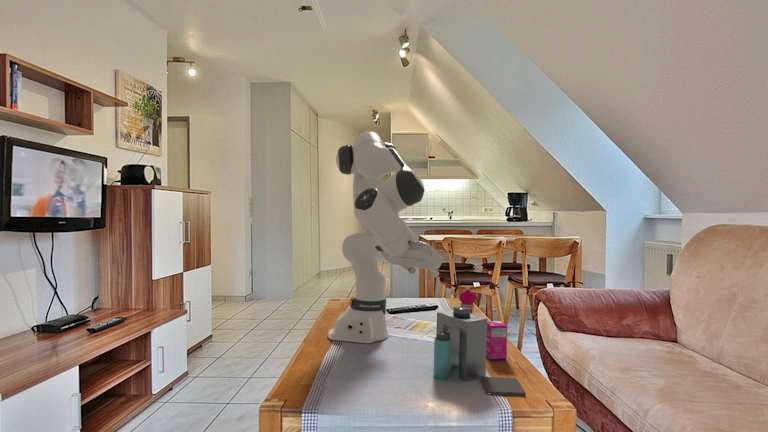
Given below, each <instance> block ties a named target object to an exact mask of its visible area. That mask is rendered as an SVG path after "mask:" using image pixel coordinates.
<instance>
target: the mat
mask: <svg viewBox="0 0 768 432" xmlns="http://www.w3.org/2000/svg"><path fill="white" fill-rule="evenodd" d="M481 380H482V381H481ZM480 381H481V383H482V385H483V388H484V387H485V388H484V390H485V389H486V390H485V392H486V391H487V392H486V394H487V393H491V394H490V395H492V394H500V396H516V397H517V396H519V397H526V391H525V390H524V388H523V387H522V385H521V383H520V382H519V380H518V379H517V378H516V377H502V376H501V377H500V376H484V377H481V378H480Z"/></svg>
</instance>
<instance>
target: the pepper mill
mask: <svg viewBox="0 0 768 432" xmlns="http://www.w3.org/2000/svg"><path fill="white" fill-rule="evenodd" d="M458 297H459V301H460V306H459V307H467V308H470V313H471V314H473V310H474V308H475V301H476V297H477V296H476V293H475V292H474V291H472V290H471V287H470V286H469V285H468V286H465V289H464V290H462V291H461V292H460V293H459V296H458Z"/></svg>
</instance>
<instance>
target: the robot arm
mask: <svg viewBox="0 0 768 432" xmlns="http://www.w3.org/2000/svg"><path fill="white" fill-rule="evenodd" d="M335 161H336V167H337V168H338V171H339V172H340V173H341V174H342V175H346V176H347V175H348V176H349V175H353V182H352V195H353V196H352V197H353V211H354V217H355V218H356V220H357V221H358V222H359V223H360V224H361V225H362V227H363V229H364V232H356V233H353V234H350V235H348V236H346V237H345V238H344V239H343V241H342V245H341V249H342V250H341V251H342V255H343V258H344V259H346V261H348V262H349V264H350V265H351V267H352V269H353V273H354V277H355V278H354V279H355V296H351V297H350V298H349V308H347V310H345V311H343V313H341V314H340V315H338V316H337V318H336V320H335V322H334V327H332V328H331V329H330V330H328V334H327V337H328V339H329V340H332V341H340V342H351V343H361V344H372V343H374V342H379V341H383V340H386V339H387V338H389V332H388V328H387V327H388V326H387V319H386V313H387V298H386V282H387V280H386V278H385V276H384V274H383V273H381V272H380V271H379V267H378V262H379V261H386V262H387V263H390V265H391V264H392V265H397V266H400V267H401V268H403V269H404V270H406V271H407V272H408V274H412V275H414V274H415V272H416V271H417V268H418V269H423V270H428V271H430V272H429V275H430V276H431V278H434V279H437V278H438V277H439V275H440V271H438V269H440V268H441V265H442V264H443V258H442V256H441V254H439V253H438V251H436V250H435V249H434V247H433V246H432V245H430V243H427V242H424V241H420V240H419V241H417V240H416V234H415V233H414V232H413V230H412V229H411V228H410V227H409V225H408V224H407V223H406V221H404V220H403V219H402V218H401V217H400V215H399V213H400V212H403V211H404V210H405V209H407V208H409V207H412V206H414V205H415V204H418V203H420V202H422V199H423V197H424V195H425V186H424V183H423V181H422V179H421V178H420V176H419V175H418V174H417V172H415V171H413V170H412V169H411V168H410V166H409V165H408V163H407V162H406V160H404V158H403V157H402V156H401V155H400V153H399V152H398V151H397V149H396V146H395V145H394V144H393V143H389V142H384V141H383V140H382V138H381V137H380V135H378V134H377V133H376V132H373V131H370V130H367V131H364V132H361V133H360V134H358V136H357V137H356V138H355V141H354V144H345V145H342V146H341V147H339V148H338V150H337V152H336V155H335ZM392 173H393V174H392ZM389 174H392V175H391V176H390V177H388V178H387V179H385V180H384V181H382V182H381V178H383V177H386V176H388V175H389Z"/></svg>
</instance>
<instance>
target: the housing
mask: <svg viewBox="0 0 768 432" xmlns="http://www.w3.org/2000/svg"><path fill="white" fill-rule="evenodd" d="M487 321H488V318H486V317H483V316H481V315H477V314H474V313H472V314H471V313H470V308H467V307H460V306H454V307H453V309H448V310H441V311H436V333H437V332H448V333H450V338H451V339H452V350H451V367H453V368H456V367H458V374H457V375H458V376H457V377H458V379H460V380H461V379H462V380H461V381H463V380H464V381H463V382H465V381H467V382H470V381H473V379H474V380H477V379H480V378H479V377H487V376H486V372H487V371H486V369H487V356H486V345H487ZM476 378H477V379H476Z"/></svg>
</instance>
